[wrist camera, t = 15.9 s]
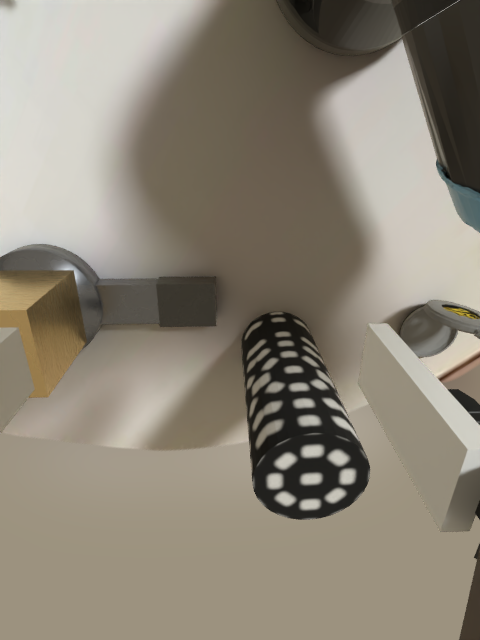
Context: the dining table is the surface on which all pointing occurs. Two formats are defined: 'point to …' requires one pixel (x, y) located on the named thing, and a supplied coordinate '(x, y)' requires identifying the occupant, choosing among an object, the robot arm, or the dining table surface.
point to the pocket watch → (438, 326)
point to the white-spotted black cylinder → (297, 424)
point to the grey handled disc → (123, 292)
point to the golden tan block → (44, 321)
